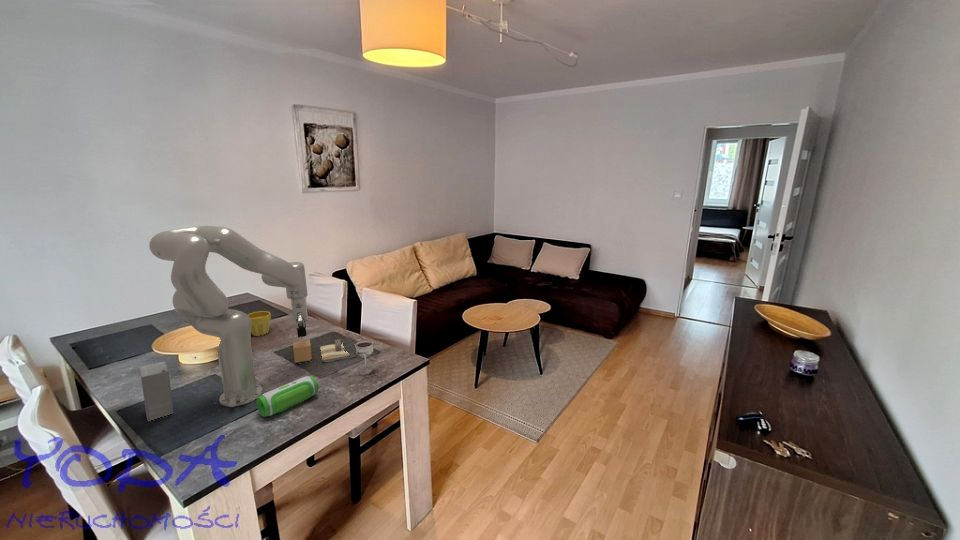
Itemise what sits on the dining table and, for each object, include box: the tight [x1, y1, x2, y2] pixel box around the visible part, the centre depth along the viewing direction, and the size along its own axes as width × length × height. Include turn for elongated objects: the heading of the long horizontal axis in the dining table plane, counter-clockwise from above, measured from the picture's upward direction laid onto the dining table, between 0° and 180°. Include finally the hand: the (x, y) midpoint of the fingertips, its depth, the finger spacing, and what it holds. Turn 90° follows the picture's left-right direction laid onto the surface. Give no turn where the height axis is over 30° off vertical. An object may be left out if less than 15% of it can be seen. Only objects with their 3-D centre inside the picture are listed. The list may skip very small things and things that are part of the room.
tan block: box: [292, 339, 313, 363], centre depth 155 cm, size 6×6×7 cm
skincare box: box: [139, 360, 174, 422], centre depth 117 cm, size 8×7×16 cm
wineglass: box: [354, 339, 374, 369], centre depth 146 cm, size 7×7×12 cm
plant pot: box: [247, 310, 272, 337], centre depth 179 cm, size 10×10×10 cm
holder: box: [319, 338, 350, 362], centre depth 161 cm, size 14×14×6 cm
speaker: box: [255, 375, 319, 418], centre depth 124 cm, size 18×7×8 cm, turn 143°
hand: (301, 331), depth 154 cm, fingers open, 9 cm apart
